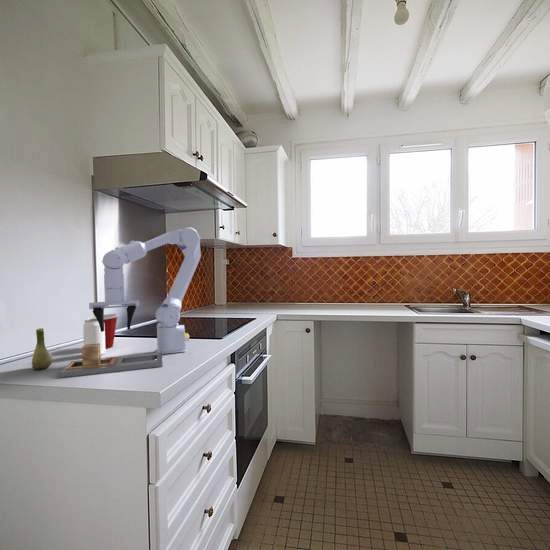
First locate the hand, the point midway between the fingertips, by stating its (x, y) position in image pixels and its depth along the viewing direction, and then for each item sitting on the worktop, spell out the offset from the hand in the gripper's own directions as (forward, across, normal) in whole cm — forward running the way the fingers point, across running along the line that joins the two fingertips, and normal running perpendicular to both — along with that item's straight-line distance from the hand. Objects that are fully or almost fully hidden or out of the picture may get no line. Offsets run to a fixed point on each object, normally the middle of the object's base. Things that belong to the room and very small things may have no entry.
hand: (115, 330), depth 108 cm
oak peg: (+10, -6, -9) cm, 14 cm away
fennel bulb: (+10, -20, -2) cm, 22 cm away
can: (+10, -8, +10) cm, 16 cm away
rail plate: (+9, +1, -9) cm, 13 cm away
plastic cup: (+10, -7, +21) cm, 24 cm away
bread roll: (+10, +20, +22) cm, 32 cm away
